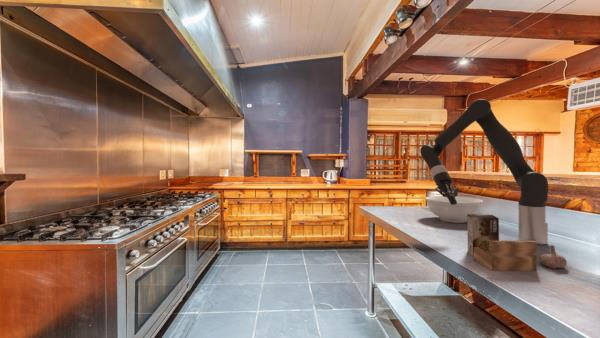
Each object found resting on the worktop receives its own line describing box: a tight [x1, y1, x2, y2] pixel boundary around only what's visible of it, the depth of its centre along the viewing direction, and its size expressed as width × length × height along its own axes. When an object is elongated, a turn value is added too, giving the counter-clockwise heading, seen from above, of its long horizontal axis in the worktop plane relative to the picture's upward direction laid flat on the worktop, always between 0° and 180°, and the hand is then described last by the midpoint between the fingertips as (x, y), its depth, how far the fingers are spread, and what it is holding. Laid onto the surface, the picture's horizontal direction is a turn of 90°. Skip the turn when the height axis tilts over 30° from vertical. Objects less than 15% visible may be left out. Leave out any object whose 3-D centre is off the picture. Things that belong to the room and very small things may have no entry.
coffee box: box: [466, 213, 500, 257], centre depth 98 cm, size 9×6×16 cm
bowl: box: [425, 195, 484, 224], centre depth 159 cm, size 32×32×15 cm
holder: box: [473, 240, 538, 272], centre depth 87 cm, size 15×9×10 cm, turn 88°
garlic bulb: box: [539, 244, 568, 270], centre depth 86 cm, size 8×7×8 cm
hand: (454, 204), depth 117 cm, fingers closed
